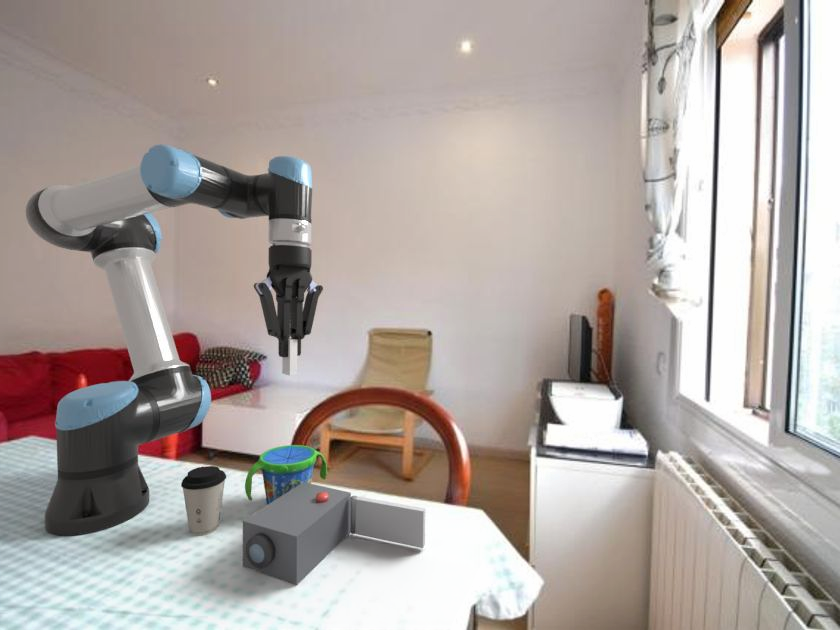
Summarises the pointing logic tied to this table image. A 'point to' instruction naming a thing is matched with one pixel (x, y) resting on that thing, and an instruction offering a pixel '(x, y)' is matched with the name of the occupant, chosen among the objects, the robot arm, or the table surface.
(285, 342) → the robot arm
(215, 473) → the coffee cup
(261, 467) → the snack cup
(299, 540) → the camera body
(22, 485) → the table surface
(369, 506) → the door
